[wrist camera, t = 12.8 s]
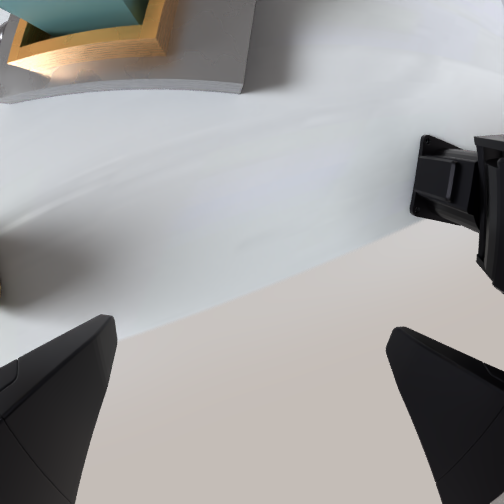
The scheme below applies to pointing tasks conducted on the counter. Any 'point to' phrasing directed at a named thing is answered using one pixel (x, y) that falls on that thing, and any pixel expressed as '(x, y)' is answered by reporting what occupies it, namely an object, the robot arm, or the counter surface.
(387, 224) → the counter surface
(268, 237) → the counter surface
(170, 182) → the counter surface
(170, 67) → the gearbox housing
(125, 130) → the counter surface
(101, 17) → the oil can
